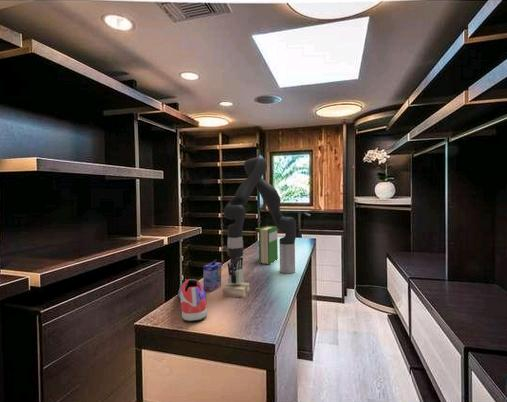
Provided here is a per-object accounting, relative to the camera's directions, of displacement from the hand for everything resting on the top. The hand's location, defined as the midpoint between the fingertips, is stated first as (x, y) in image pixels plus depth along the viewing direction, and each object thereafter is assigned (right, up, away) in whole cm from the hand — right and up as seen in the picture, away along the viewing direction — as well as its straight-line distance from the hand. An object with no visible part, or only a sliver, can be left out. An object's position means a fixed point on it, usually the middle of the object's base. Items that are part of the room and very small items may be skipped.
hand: (235, 281), depth 139 cm
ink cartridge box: (-12, -6, +7) cm, 15 cm away
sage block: (0, -1, 0) cm, 1 cm away
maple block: (0, -6, -1) cm, 6 cm away
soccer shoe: (-18, -7, -15) cm, 25 cm away
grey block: (-1, -5, +11) cm, 12 cm away
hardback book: (+19, -4, +62) cm, 65 cm away
